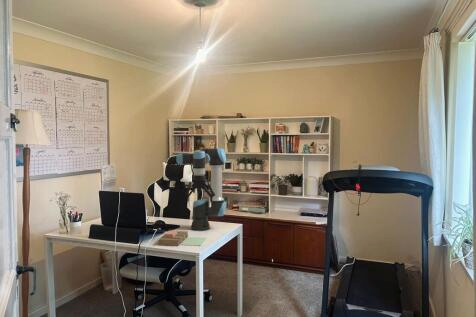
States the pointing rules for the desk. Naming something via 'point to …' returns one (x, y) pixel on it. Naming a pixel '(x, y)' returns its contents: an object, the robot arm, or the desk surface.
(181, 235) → the deck
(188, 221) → the desk surface
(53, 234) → the desk surface
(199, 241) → the mat
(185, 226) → the desk surface
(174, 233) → the card
